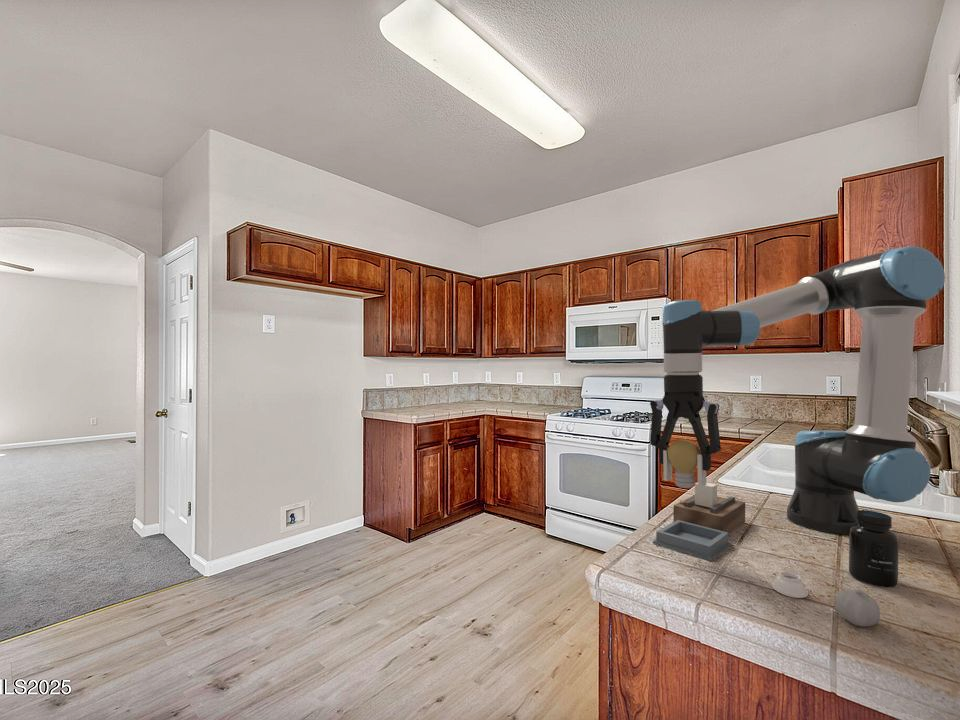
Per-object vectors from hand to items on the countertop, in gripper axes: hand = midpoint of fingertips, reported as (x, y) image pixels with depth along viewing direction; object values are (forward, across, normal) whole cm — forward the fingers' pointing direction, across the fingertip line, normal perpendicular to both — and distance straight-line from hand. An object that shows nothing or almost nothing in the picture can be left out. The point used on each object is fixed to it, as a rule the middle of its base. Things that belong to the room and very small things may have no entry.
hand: (684, 482), depth 95 cm
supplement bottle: (+15, -29, -11) cm, 35 cm away
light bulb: (+1, 0, 0) cm, 1 cm away
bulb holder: (+14, 0, -4) cm, 15 cm away
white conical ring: (+15, -20, +6) cm, 25 cm away
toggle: (+9, +2, -17) cm, 19 cm away
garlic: (+15, -29, +9) cm, 33 cm away
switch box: (+14, +2, -20) cm, 24 cm away
